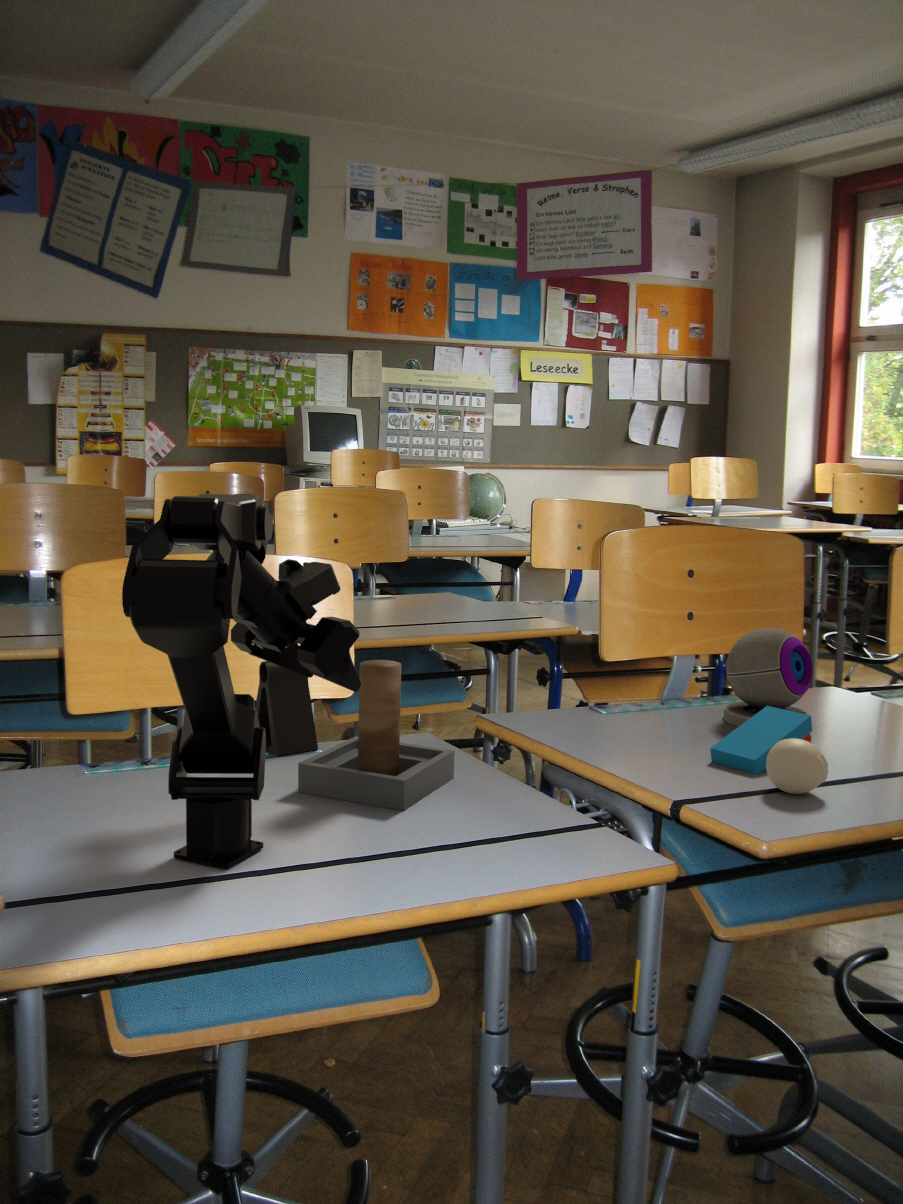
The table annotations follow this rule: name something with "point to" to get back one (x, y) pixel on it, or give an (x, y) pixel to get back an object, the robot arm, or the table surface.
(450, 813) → the table surface
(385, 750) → the walnut peg
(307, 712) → the door stopper
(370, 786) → the box
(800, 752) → the beige ball
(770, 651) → the webcam
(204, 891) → the table surface
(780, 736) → the teal long block
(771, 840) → the table surface
